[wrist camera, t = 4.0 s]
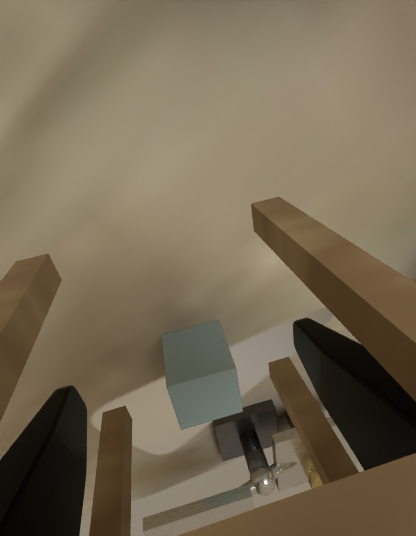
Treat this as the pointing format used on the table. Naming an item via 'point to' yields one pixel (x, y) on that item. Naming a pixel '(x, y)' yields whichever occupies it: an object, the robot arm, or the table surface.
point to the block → (200, 374)
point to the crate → (283, 377)
